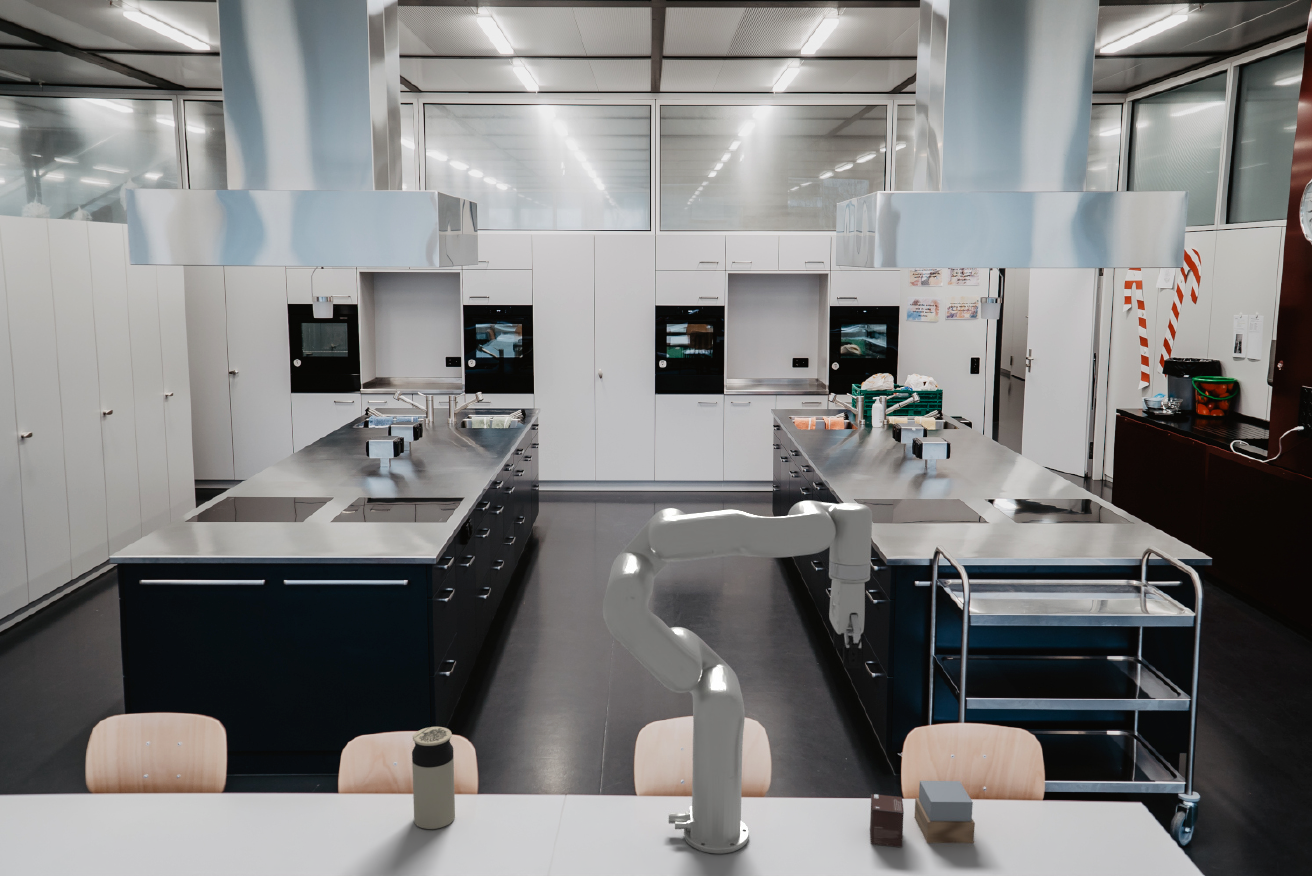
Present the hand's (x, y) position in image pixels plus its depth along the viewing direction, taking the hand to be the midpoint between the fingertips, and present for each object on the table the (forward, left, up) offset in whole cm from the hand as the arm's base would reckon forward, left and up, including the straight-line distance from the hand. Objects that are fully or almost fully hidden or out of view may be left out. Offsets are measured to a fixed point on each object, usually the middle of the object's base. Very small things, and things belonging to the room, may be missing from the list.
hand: (846, 657), depth 179 cm
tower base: (+21, +3, -37) cm, 43 cm away
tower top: (+21, +3, -33) cm, 39 cm away
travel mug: (-80, +5, -37) cm, 88 cm away
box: (+9, 0, -37) cm, 38 cm away
